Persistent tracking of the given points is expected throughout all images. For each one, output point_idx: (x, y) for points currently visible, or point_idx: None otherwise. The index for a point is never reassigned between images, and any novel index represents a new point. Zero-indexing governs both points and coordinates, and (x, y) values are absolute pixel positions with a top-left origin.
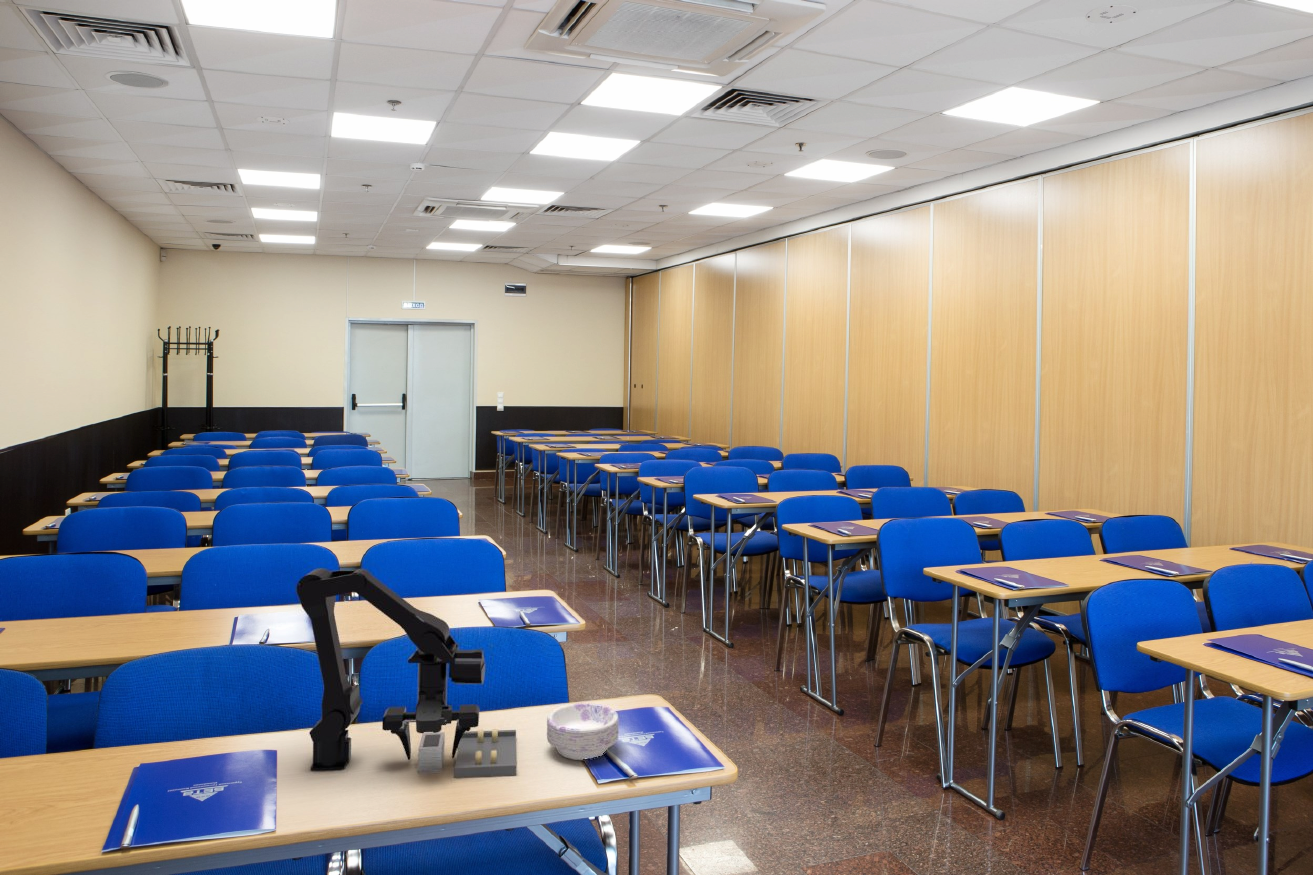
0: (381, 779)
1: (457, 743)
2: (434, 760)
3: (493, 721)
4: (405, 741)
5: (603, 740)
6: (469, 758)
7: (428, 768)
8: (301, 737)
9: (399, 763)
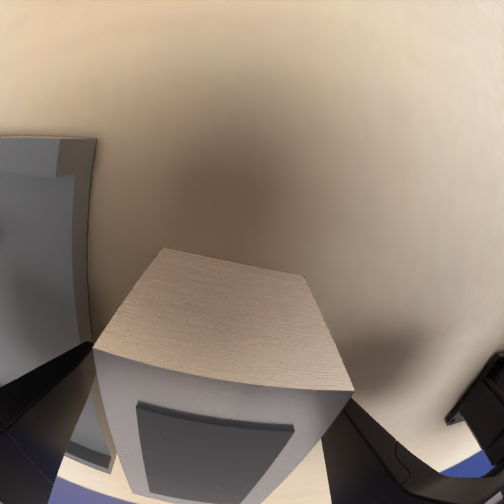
0: (463, 255)
1: (22, 383)
2: (192, 296)
3: (68, 468)
4: (397, 463)
5: None
6: (27, 310)
7: (241, 276)
8: (448, 460)
9: (354, 385)
